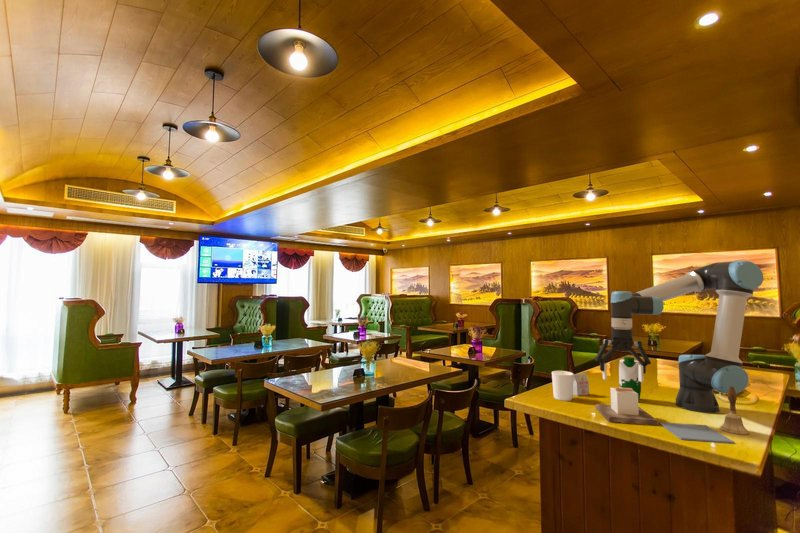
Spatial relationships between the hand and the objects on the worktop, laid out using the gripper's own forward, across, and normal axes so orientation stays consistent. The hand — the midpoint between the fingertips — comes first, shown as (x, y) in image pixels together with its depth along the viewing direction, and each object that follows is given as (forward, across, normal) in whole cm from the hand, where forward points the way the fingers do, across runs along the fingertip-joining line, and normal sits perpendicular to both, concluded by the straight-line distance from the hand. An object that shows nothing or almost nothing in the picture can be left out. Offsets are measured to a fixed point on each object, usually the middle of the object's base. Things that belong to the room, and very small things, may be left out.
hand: (622, 380), depth 154 cm
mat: (+14, +18, -14) cm, 27 cm away
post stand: (+14, 0, 0) cm, 15 cm away
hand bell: (+14, +34, -8) cm, 38 cm away
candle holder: (+15, -18, +22) cm, 32 cm away
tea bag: (+15, -8, +31) cm, 35 cm away
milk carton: (+14, +12, +27) cm, 33 cm away
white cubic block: (+12, 0, 0) cm, 13 cm away
